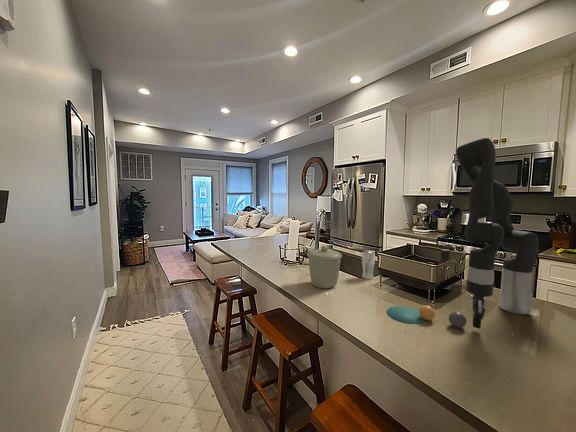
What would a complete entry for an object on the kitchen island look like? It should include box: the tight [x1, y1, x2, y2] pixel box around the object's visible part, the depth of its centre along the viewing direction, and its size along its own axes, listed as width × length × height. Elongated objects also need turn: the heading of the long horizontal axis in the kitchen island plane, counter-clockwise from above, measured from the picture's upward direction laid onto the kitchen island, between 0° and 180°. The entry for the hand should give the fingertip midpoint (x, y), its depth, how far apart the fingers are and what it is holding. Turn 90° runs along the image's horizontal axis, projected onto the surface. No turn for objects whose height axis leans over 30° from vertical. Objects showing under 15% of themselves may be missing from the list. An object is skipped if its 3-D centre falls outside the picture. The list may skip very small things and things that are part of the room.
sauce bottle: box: [437, 248, 452, 291], centre depth 129 cm, size 6×6×20 cm
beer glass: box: [361, 250, 376, 280], centre depth 145 cm, size 7×7×15 cm
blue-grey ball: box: [448, 311, 467, 329], centre depth 93 cm, size 6×6×6 cm
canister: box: [306, 245, 343, 289], centre depth 134 cm, size 18×18×21 cm
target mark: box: [386, 305, 426, 325], centre depth 103 cm, size 14×14×1 cm
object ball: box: [418, 304, 436, 321], centre depth 99 cm, size 6×6×6 cm
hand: (476, 326), depth 91 cm, fingers closed
